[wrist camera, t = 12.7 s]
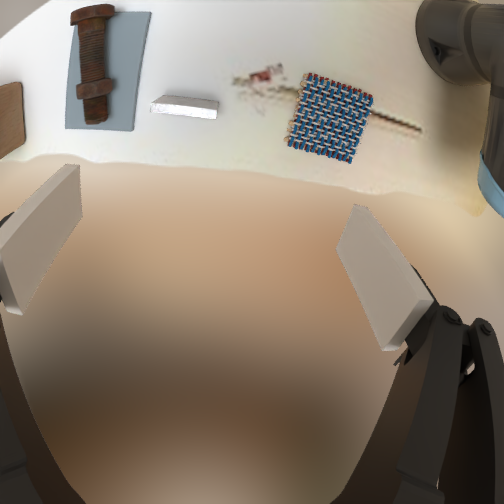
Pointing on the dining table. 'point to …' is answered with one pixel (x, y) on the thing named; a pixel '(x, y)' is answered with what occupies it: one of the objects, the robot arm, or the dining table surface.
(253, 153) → the dining table surface
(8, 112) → the wooden block
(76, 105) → the slate pad
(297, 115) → the woven mat
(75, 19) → the bolt
